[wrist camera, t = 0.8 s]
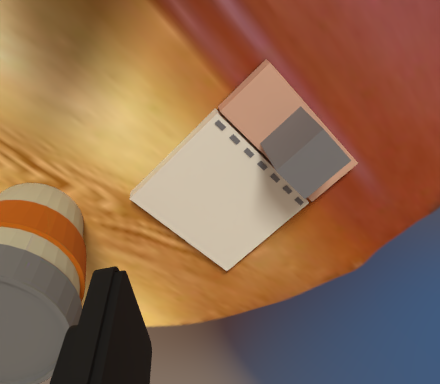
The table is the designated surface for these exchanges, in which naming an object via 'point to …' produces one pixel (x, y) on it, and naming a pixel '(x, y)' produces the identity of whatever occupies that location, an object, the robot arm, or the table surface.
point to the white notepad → (218, 192)
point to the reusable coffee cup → (38, 279)
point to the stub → (287, 132)
